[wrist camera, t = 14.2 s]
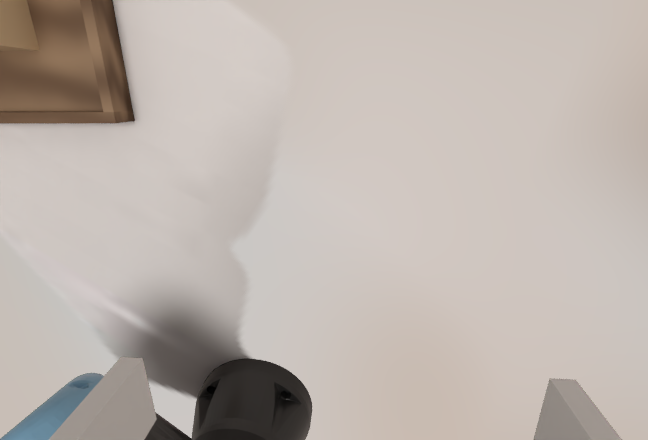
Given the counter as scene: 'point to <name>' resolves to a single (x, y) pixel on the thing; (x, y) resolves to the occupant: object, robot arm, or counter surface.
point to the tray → (67, 67)
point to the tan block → (16, 27)
